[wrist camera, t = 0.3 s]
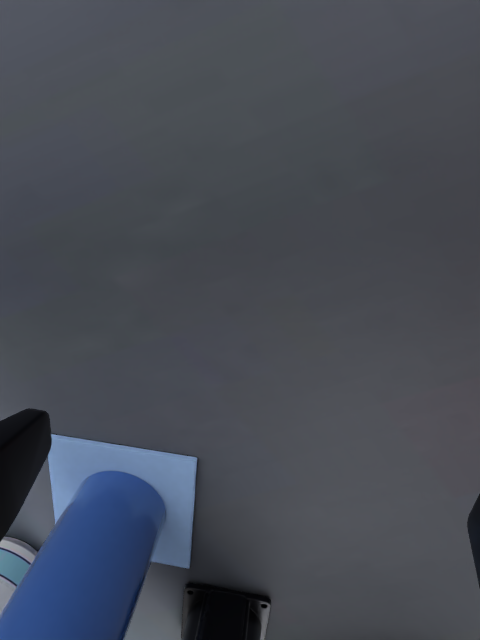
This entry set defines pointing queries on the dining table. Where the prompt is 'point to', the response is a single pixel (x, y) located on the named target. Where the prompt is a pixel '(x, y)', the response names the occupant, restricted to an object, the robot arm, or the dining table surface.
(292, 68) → the dining table surface
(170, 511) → the blue mat
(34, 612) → the blue tumbler
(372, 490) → the dining table surface
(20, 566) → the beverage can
